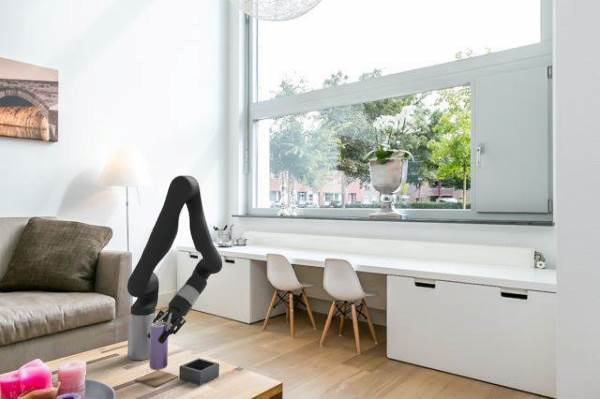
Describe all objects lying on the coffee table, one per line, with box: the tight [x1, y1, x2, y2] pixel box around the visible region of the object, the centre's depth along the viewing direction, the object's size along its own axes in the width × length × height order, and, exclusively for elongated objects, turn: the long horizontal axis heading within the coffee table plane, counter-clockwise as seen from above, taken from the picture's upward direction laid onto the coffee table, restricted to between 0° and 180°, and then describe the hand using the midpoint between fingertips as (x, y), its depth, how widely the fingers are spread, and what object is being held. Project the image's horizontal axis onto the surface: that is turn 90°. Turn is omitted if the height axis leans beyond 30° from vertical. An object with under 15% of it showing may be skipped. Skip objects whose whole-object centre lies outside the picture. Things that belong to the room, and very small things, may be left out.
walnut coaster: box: [135, 369, 179, 388], centre depth 151 cm, size 10×10×1 cm
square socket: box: [178, 357, 220, 386], centre depth 153 cm, size 10×10×4 cm
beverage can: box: [149, 321, 169, 371], centre depth 151 cm, size 6×6×15 cm
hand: (154, 340), depth 150 cm, fingers closed on beverage can, 6 cm apart
